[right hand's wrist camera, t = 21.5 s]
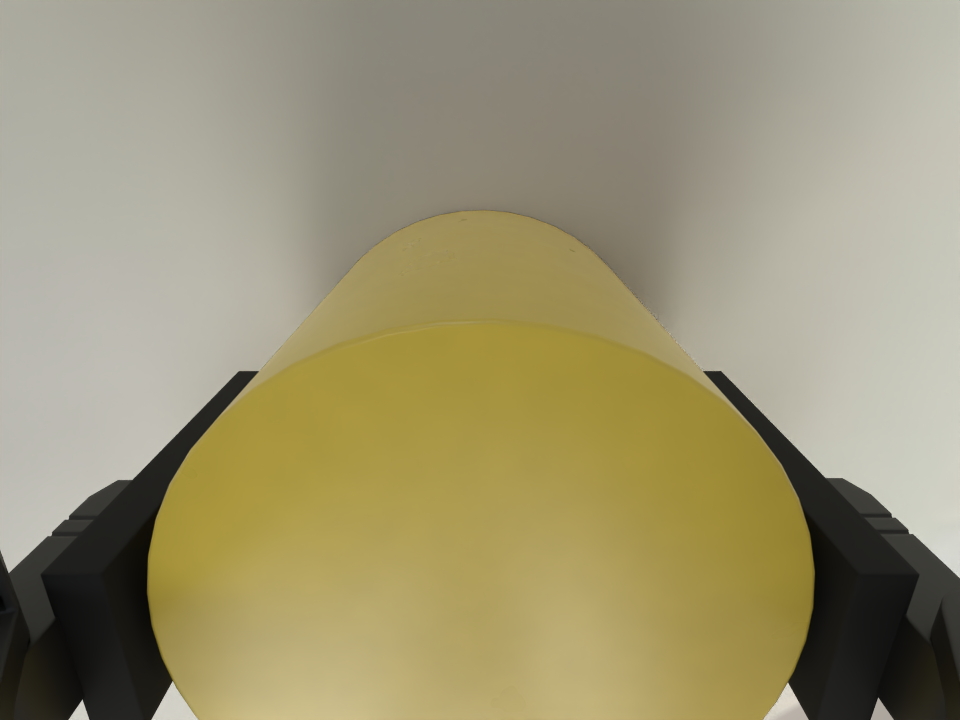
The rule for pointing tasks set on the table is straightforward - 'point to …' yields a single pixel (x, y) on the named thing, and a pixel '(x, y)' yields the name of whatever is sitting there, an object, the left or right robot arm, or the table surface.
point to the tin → (480, 507)
